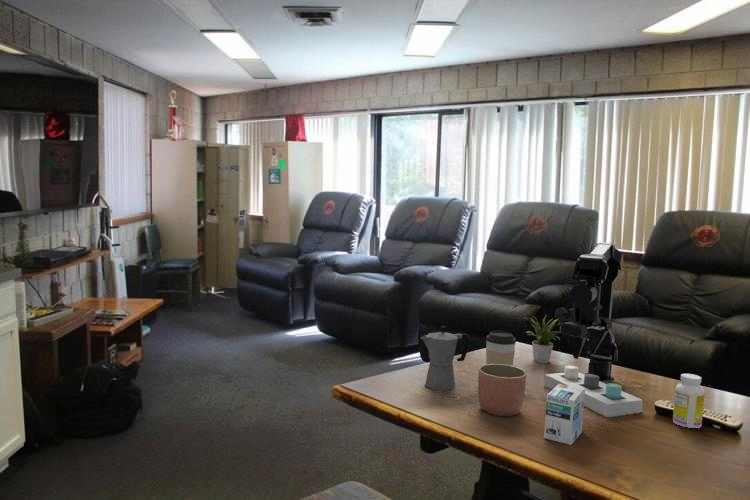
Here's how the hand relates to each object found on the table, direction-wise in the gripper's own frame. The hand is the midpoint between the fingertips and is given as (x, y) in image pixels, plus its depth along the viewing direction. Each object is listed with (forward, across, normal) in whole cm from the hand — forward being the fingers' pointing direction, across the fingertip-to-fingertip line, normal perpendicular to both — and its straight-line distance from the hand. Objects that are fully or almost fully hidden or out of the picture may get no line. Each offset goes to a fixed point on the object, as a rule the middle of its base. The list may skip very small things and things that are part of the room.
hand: (584, 355), depth 169 cm
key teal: (+10, -1, +9) cm, 14 cm away
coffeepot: (+13, +22, -32) cm, 41 cm away
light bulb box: (+13, +26, +10) cm, 31 cm away
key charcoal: (+10, -4, +1) cm, 11 cm away
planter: (+13, +25, -9) cm, 30 cm away
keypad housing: (+13, -4, +1) cm, 14 cm away
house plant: (+13, -25, -30) cm, 41 cm away
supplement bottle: (+13, -6, +26) cm, 30 cm away
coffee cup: (+13, +4, -25) cm, 28 cm away
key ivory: (+10, -7, -7) cm, 14 cm away
